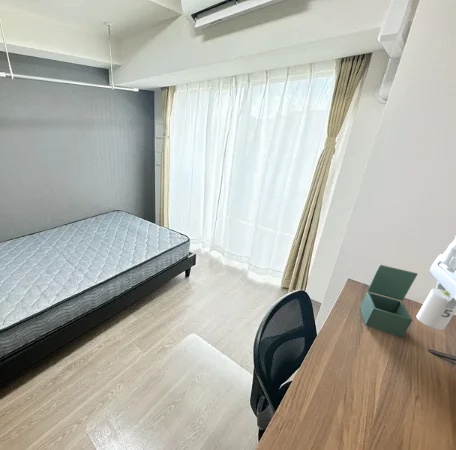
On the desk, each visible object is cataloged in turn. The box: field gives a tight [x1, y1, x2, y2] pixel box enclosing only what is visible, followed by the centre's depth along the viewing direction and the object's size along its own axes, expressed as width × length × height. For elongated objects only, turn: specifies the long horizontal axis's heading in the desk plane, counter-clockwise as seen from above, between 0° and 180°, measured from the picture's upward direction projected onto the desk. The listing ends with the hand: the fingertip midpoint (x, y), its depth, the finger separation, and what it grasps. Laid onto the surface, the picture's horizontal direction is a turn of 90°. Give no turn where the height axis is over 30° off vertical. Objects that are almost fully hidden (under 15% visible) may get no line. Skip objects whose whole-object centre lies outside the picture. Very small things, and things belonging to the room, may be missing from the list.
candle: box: [416, 287, 456, 331], centre depth 74 cm, size 6×6×15 cm
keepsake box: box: [359, 291, 413, 338], centre depth 100 cm, size 13×12×9 cm
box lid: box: [367, 264, 418, 302], centre depth 102 cm, size 14×12×5 cm
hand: (443, 301), depth 73 cm, fingers closed on candle, 4 cm apart
